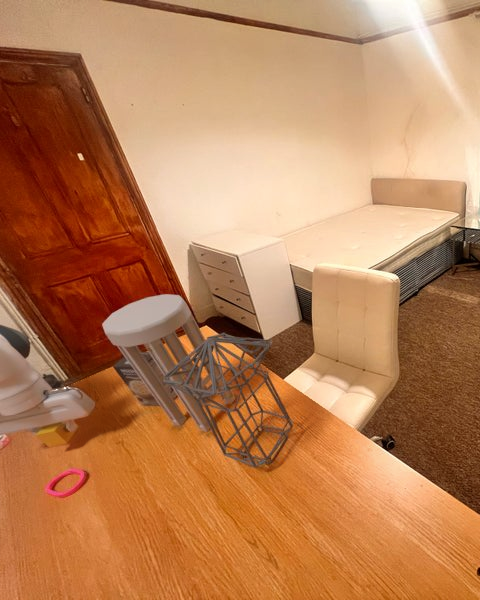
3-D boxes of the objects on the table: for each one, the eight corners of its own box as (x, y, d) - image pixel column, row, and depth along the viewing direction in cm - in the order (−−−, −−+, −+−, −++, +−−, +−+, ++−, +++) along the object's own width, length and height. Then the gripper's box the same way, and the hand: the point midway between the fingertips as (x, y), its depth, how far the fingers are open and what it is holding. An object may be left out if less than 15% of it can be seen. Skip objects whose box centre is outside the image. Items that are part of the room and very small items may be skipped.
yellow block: (48, 447, 77) (35, 435, 75) (61, 430, 82) (49, 418, 79) (67, 443, 78) (54, 430, 75) (79, 426, 82) (67, 414, 80)
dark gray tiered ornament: (64, 397, 97) (37, 369, 91) (85, 392, 99) (61, 364, 92) (52, 411, 93) (23, 383, 86) (75, 406, 94) (49, 378, 88)
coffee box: (140, 406, 92) (110, 366, 84) (156, 389, 98) (129, 350, 89) (167, 407, 91) (140, 367, 83) (182, 390, 96) (158, 351, 88)
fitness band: (94, 474, 75) (90, 471, 74) (68, 500, 70) (63, 497, 69) (69, 469, 76) (65, 465, 75) (41, 493, 71) (37, 490, 71)
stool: (246, 394, 93) (198, 295, 75) (207, 440, 81) (138, 335, 62) (204, 387, 97) (149, 291, 78) (161, 430, 84) (83, 328, 66)
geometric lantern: (269, 486, 69) (207, 374, 51) (216, 467, 74) (142, 358, 56) (308, 427, 82) (269, 320, 63) (260, 414, 87) (212, 311, 68)
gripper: (82, 375, 76) (112, 412, 83) (-19, 395, 72) (22, 432, 80) (65, 395, 71) (99, 432, 78) (-44, 417, 67) (2, 454, 74)
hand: (60, 432), depth 79 cm, fingers closed on yellow block, 4 cm apart
